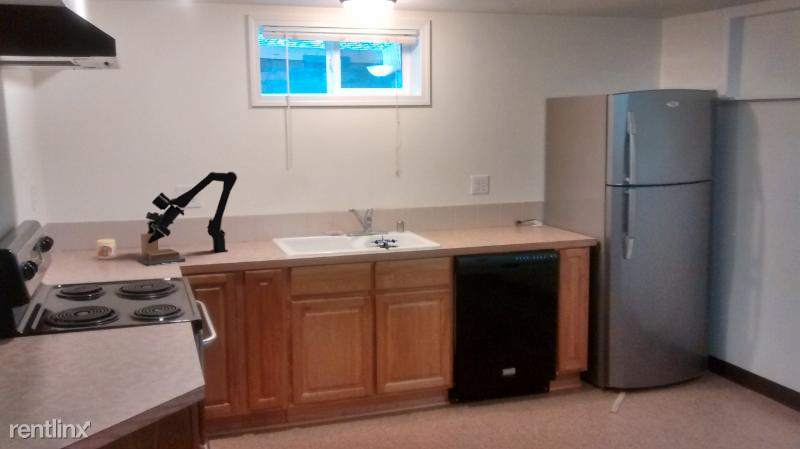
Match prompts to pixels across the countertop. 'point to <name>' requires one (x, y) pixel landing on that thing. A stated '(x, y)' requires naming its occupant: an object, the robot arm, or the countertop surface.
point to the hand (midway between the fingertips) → (146, 241)
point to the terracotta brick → (146, 245)
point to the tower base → (161, 257)
